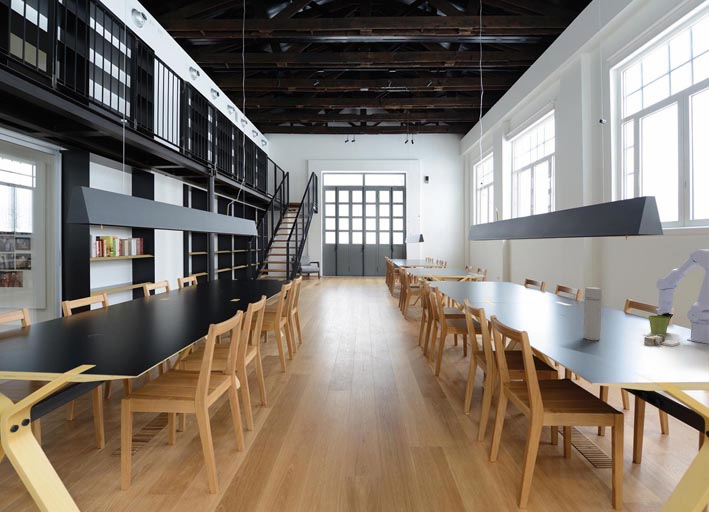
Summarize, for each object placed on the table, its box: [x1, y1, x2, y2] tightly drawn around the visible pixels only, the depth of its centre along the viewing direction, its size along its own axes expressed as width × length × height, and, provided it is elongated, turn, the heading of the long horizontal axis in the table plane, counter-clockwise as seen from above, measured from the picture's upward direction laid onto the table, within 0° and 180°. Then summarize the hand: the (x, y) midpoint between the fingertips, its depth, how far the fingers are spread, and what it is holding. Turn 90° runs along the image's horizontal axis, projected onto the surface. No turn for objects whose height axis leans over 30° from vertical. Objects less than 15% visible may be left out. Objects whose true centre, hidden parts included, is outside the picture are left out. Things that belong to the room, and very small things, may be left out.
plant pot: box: [647, 314, 672, 336], centre depth 201 cm, size 9×9×9 cm
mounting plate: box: [661, 339, 681, 347], centre depth 181 cm, size 4×8×1 cm, turn 122°
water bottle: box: [582, 286, 603, 341], centre depth 191 cm, size 9×8×25 cm
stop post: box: [654, 337, 661, 346], centre depth 180 cm, size 2×2×4 cm
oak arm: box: [643, 334, 666, 346], centre depth 183 cm, size 12×3×4 cm, turn 114°
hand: (664, 327), depth 205 cm, fingers closed
